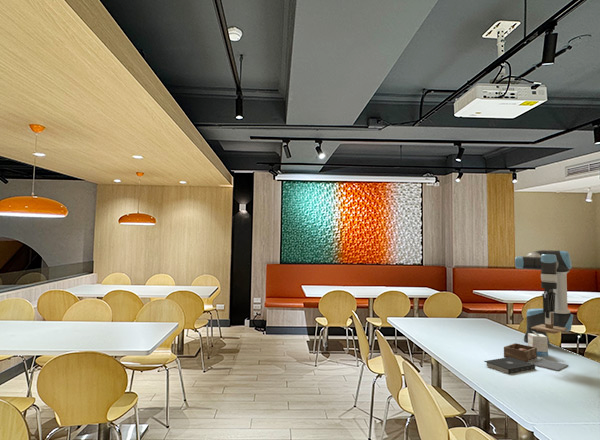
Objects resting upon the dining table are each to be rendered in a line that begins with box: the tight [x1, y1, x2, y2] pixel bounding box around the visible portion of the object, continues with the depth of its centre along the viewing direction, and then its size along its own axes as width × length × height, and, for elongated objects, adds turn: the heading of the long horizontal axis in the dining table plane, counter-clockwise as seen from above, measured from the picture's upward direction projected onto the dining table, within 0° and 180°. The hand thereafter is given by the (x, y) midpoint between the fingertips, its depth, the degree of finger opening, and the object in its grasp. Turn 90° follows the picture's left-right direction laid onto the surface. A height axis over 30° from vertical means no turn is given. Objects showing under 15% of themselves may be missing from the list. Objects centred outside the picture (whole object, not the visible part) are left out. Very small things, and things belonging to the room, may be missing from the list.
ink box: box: [527, 331, 549, 357], centre depth 235 cm, size 9×8×13 cm
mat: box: [531, 358, 569, 372], centre depth 212 cm, size 16×13×1 cm
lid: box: [531, 313, 568, 335], centre depth 214 cm, size 17×13×10 cm
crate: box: [503, 342, 538, 363], centre depth 226 cm, size 16×12×6 cm
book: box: [483, 357, 536, 375], centre depth 206 cm, size 22×15×3 cm
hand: (549, 323), depth 214 cm, fingers closed on lid, 3 cm apart
